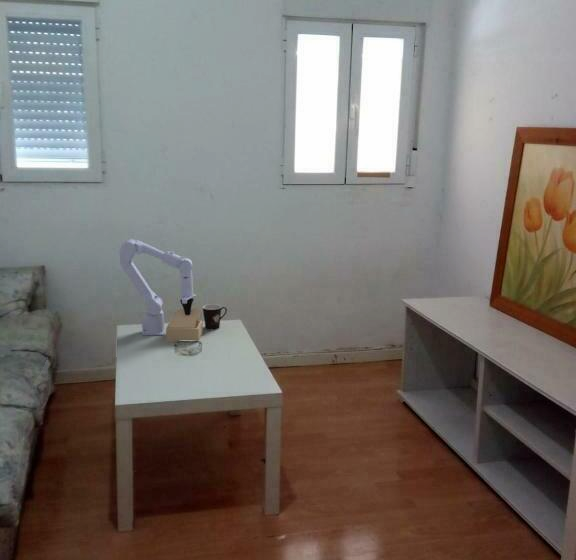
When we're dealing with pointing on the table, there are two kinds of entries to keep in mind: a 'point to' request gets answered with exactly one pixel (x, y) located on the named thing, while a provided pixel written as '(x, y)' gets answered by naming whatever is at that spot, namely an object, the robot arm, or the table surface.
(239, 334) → the table surface
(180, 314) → the flap far
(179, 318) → the flap near
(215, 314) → the coffee mug
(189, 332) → the carton
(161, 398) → the table surface
